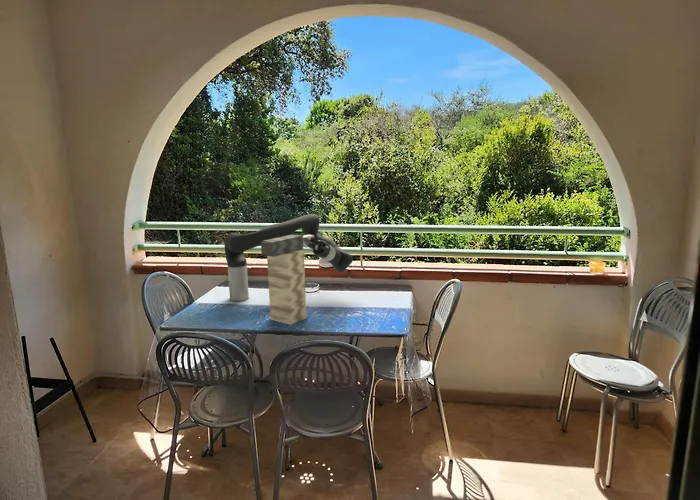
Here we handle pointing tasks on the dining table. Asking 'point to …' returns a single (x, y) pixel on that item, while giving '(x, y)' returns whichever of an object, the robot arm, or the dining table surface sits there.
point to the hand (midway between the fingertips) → (303, 238)
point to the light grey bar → (307, 239)
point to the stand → (286, 278)
